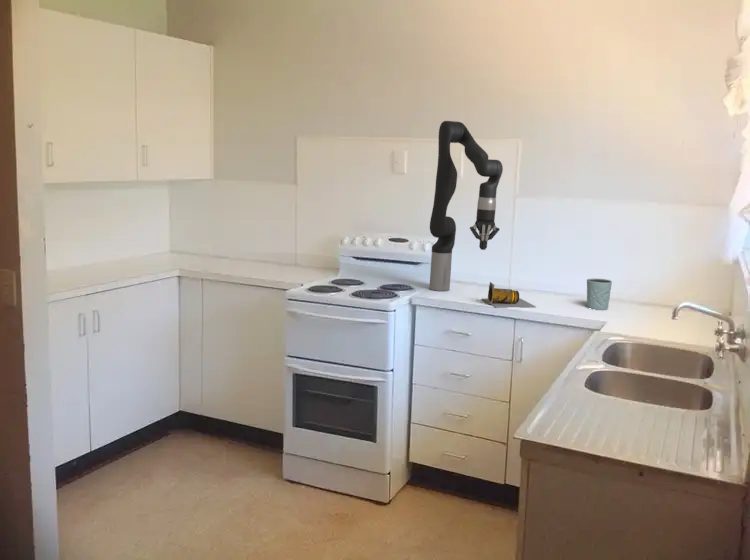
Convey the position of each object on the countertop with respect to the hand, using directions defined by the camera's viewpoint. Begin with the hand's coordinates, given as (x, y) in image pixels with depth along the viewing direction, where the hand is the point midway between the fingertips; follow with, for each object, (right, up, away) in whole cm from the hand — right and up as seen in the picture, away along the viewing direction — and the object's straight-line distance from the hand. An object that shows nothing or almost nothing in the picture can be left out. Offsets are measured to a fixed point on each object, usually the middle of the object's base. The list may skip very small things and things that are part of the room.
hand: (482, 249), depth 317 cm
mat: (+12, -23, +6) cm, 26 cm away
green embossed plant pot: (+49, -25, +5) cm, 55 cm away
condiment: (+3, -18, +2) cm, 19 cm away
